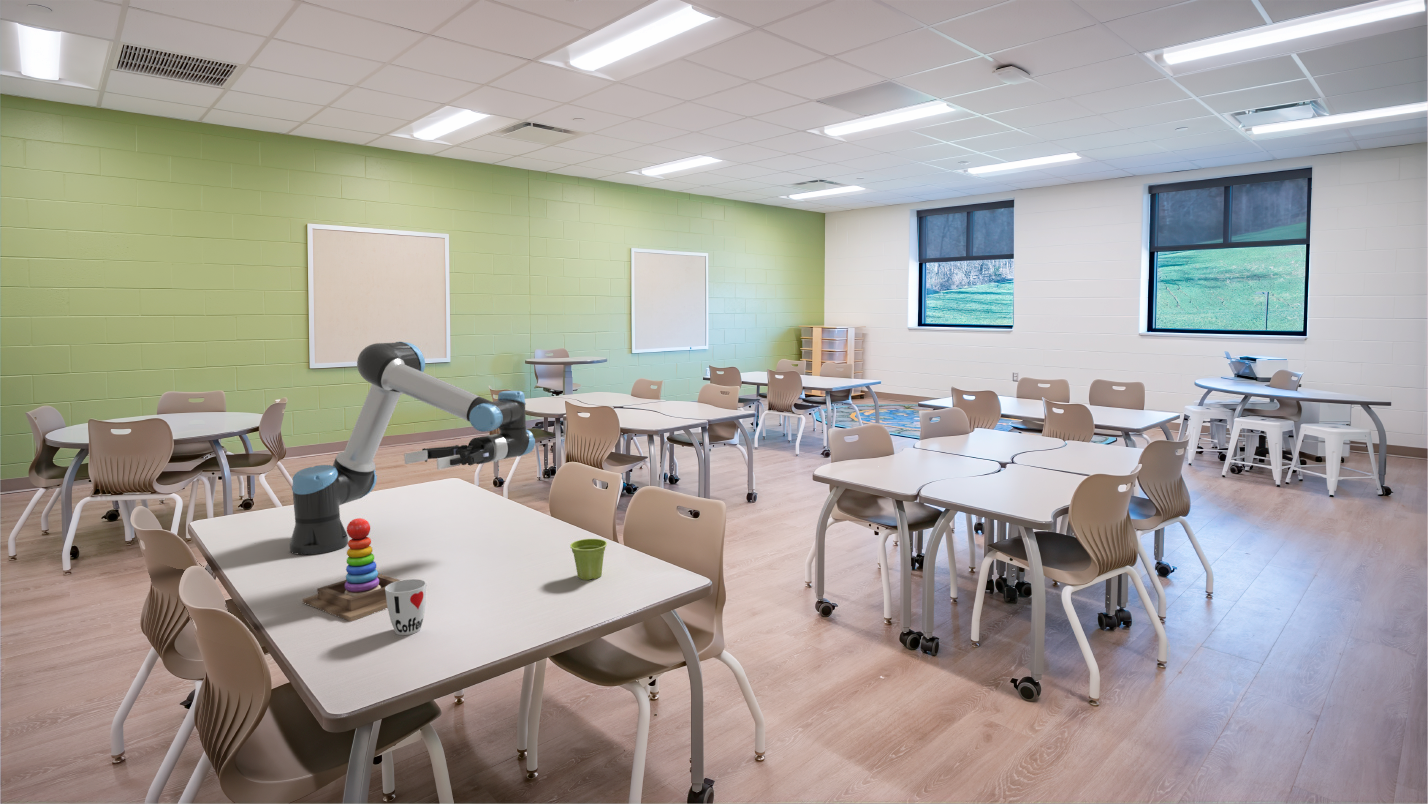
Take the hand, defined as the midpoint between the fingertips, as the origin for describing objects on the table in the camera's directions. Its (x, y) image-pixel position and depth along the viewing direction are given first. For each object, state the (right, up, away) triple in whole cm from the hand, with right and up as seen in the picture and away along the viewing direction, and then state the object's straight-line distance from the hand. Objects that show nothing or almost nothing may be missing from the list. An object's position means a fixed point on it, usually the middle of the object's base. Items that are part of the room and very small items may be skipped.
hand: (421, 461), depth 192 cm
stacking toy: (-8, -31, -15) cm, 35 cm away
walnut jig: (-8, -32, -15) cm, 36 cm away
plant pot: (+44, -30, 0) cm, 53 cm away
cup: (+10, -34, -32) cm, 48 cm away
